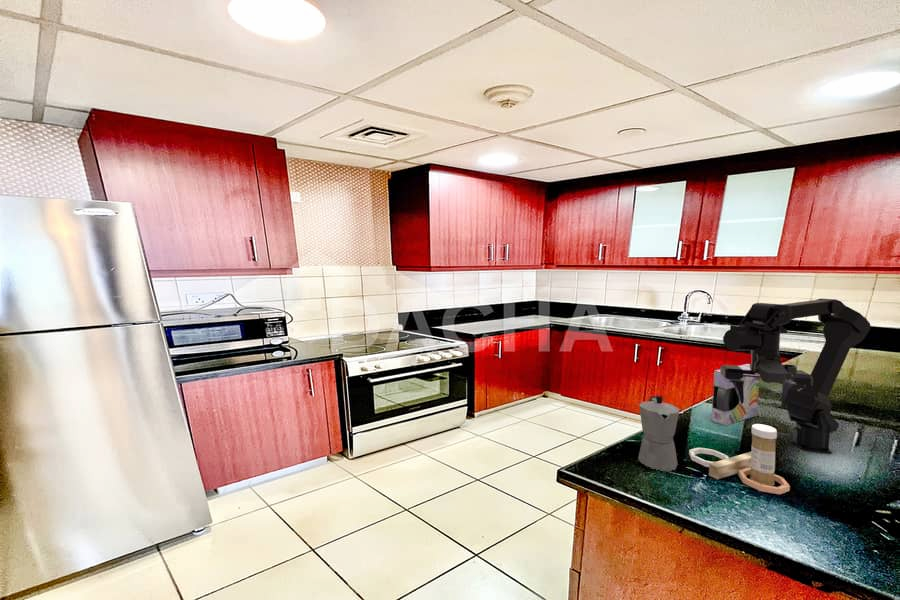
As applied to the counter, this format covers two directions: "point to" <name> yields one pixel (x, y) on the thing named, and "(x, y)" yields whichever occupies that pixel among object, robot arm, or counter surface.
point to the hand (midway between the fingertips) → (762, 405)
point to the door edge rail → (729, 466)
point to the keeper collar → (764, 488)
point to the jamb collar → (705, 451)
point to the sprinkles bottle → (763, 454)
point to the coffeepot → (658, 434)
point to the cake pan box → (734, 399)
